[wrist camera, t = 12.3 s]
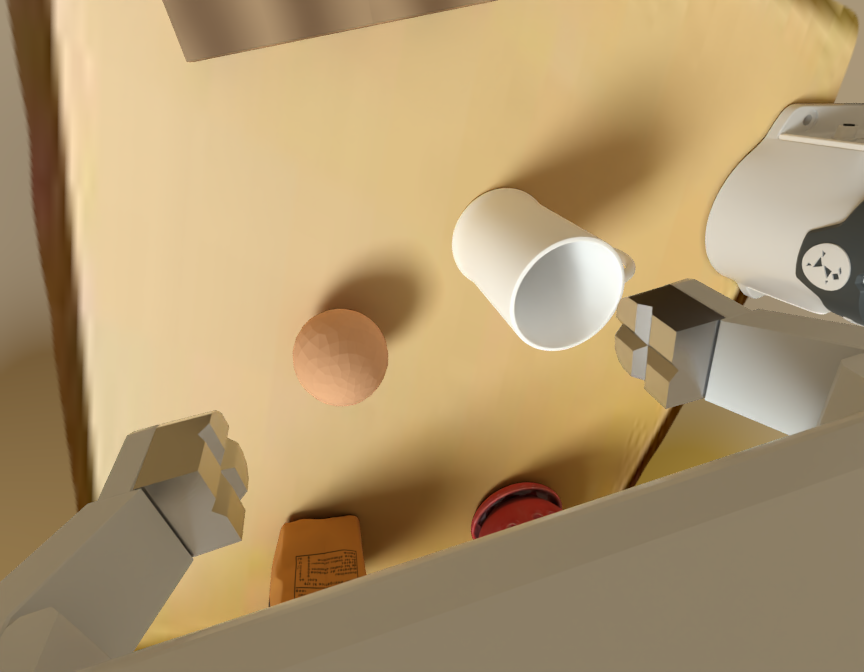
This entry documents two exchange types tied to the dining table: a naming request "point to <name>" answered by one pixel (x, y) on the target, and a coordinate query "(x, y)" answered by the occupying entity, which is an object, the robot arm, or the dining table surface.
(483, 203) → the mug
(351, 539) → the coffee package
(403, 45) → the dining table surface
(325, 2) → the plate
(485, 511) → the plant pot
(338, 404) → the egg
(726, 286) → the dining table surface
